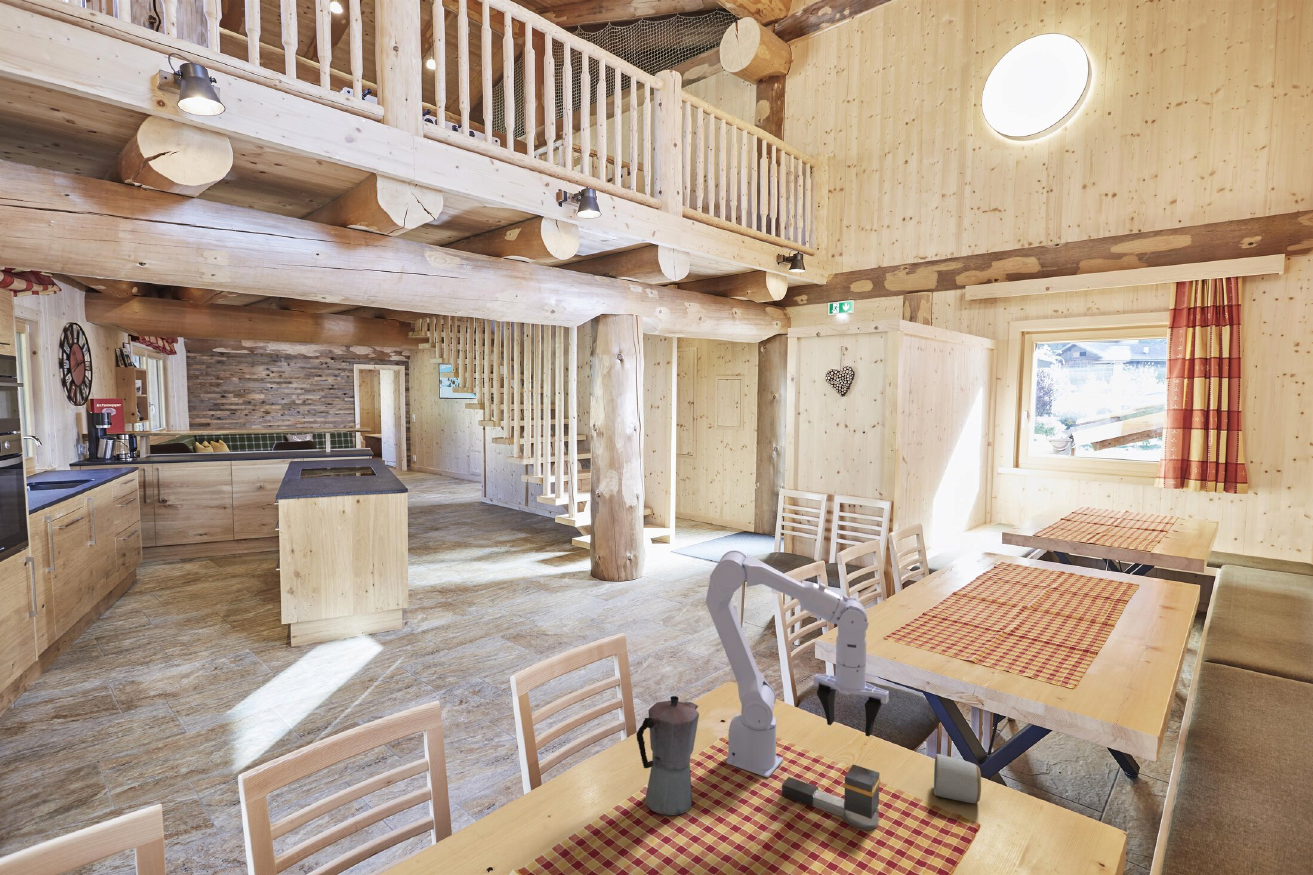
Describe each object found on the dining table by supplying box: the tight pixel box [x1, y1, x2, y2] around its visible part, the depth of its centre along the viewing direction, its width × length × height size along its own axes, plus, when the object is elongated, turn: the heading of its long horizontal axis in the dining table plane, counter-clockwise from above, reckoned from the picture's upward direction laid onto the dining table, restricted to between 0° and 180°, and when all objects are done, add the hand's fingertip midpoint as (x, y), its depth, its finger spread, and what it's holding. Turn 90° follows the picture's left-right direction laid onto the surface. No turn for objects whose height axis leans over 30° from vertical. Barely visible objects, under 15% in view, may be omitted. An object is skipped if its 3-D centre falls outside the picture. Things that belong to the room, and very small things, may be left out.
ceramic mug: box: [933, 753, 982, 804], centre depth 123 cm, size 10×8×7 cm
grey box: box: [843, 764, 881, 819], centre depth 115 cm, size 5×5×6 cm
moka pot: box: [635, 695, 700, 816], centre depth 118 cm, size 10×15×20 cm, turn 137°
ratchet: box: [781, 776, 880, 831], centre depth 118 cm, size 18×6×5 cm, turn 56°
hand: (849, 728), depth 128 cm, fingers open, 7 cm apart
